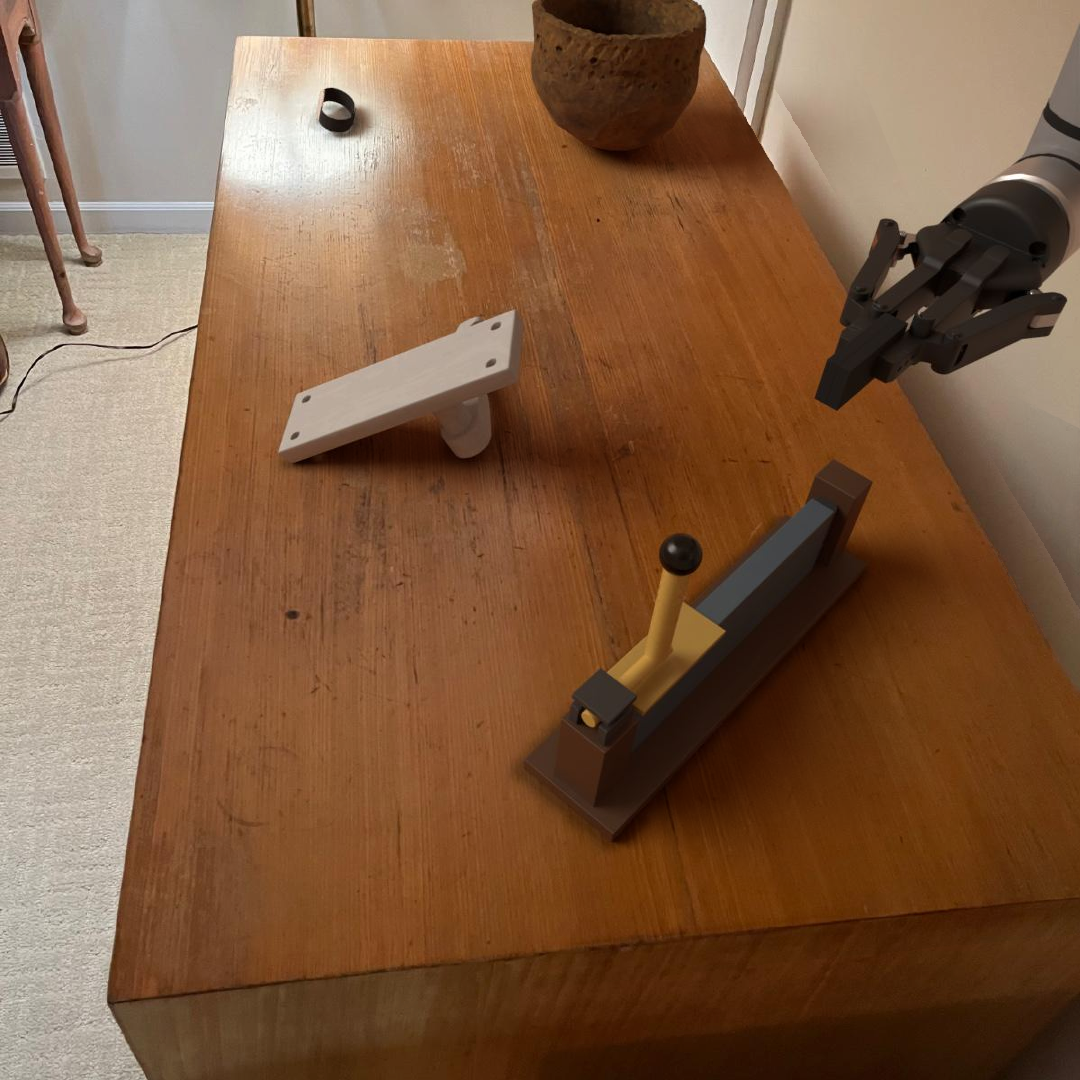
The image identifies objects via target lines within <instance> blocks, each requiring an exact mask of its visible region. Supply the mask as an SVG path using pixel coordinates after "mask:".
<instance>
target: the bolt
mask: <svg viewBox="0 0 1080 1080" xmlns="http://www.w3.org/2000/svg"><path fill="white" fill-rule="evenodd" d="M703 555H704V554H703V547H702V546H701V544H700V541H698V540H697V539H696V538H695V537H694V536H693V535H691V534H688V533H684V532H677V533H673V534H670V535H668V537H666V538H665V539H664V540H663V541H662V543H661V544H660V547H659V550H658V559H659V560H658V561H659V563H660V565H661V567H662V572H661V577H660V581H659V585H658V589H657V593H656V599H655V603H654V607H653V611H652V616H651V620H650V625H649V629H648V634H647V635H648V637H647V641H646V646H645V650H644V652H645V654H644V655H643V656H642V657H641V658H640V659H639V660H638V661H637V662H636V663H635V664H634V665H633V666H632V667H630V668H629V669H628V670H627V671H626V672H625V673H624V674H623V675H622V676H621V677H620V678H619V679H618V680H617V681H618V682H620V683H621V684H622V685H624V686H625V687H626V688H628V689H629V690H630V691H633V690H634V689H635V688H636V687H637V686H638V685H639V684H640V683H641V682H642V681H643V680H644V679H645V678H646V677H647V676H648V675H649V674H650V673H651V672H652V671H653V670H654V669H655V668H656V667H658V666H659V665H660V664H661V663H662V662H663V661H665V660H666V659H667V658H668V656H669V655H670V654H671V653H672V652H673V647H672V641H673V637H674V634H675V630H676V626H677V622H678V618H679V614H680V611H681V607H682V603H683V602H684V600H685V599H684V598H685V595H686V591H687V588H688V584H689V580H690V576H691V575H692V574H694V573H695V572H696V571H697V570H698V569H699V568H700V566H701V564H702V561H703ZM581 716H582V719H583V721H584V722H585V723H586V724H587V725H588V726H590V727H595V726H596V725H597V724H598V723H599V722H600V721H601V720H600V719H598V718H597V717H596V716H594V715H593V714H592V713H591V712H589V711H588V710H587V709H586V710H585V711H584V712H583V713H582V715H581Z"/></svg>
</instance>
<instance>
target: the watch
mask: <svg viewBox="0 0 1080 1080" xmlns="http://www.w3.org/2000/svg"><path fill="white" fill-rule="evenodd" d="M326 102H331V103H332V102H333V103H337V104H339V105H340V106H342V107H343V108H344V109H347V111H348V112H349V115H350V116H349V117H348V118H343V119H342V118H334V117H331V116H329V115H327V114H326V113H325V112H324V110H323V108H324V103H326ZM316 105H317V106H316V111H315V119H314V120H315V121H317V122H318V123H319V124H320V126H321V127H322V128H323V129H325V130H326V131H329V132H332V133H338V134H339V133H340V134H341V133H346V132H348V131H349V130H350V129H352V127H353V126H354V123H355V118H356V113H357V107H356V105H355V101H354V99H353V98H352V97H351V96H350V95H349V94H348V93H347V92H345V91H344V90H341V89H339V88H337V87H326V88H324V89H322V90H320V91H319V93H318V99H317V104H316Z"/></svg>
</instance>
